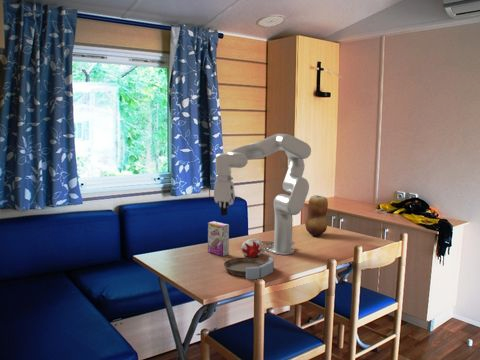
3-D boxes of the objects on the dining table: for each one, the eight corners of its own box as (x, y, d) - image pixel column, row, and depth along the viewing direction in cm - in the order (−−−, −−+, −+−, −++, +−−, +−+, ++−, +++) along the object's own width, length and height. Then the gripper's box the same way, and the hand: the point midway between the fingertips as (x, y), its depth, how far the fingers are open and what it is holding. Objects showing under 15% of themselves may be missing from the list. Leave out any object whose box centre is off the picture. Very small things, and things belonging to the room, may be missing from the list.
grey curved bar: (269, 266, 211) (269, 256, 211) (278, 268, 208) (279, 258, 208) (244, 279, 194) (244, 268, 193) (254, 281, 191) (254, 270, 190)
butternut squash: (326, 238, 263) (328, 198, 260) (303, 237, 266) (305, 197, 263) (326, 233, 276) (328, 194, 273) (305, 231, 279) (307, 193, 276)
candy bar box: (207, 252, 232) (207, 222, 230) (213, 250, 236) (213, 220, 233) (222, 256, 225) (223, 226, 223) (229, 254, 229) (229, 224, 226)
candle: (259, 250, 235) (265, 263, 220) (238, 251, 233) (243, 263, 218) (260, 235, 232) (266, 246, 218) (239, 235, 230) (244, 247, 216)
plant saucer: (214, 268, 208) (215, 261, 207) (248, 260, 221) (248, 254, 220) (241, 281, 192) (242, 274, 191) (275, 271, 205) (276, 265, 204)
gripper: (240, 178, 211) (240, 215, 214) (216, 176, 220) (216, 211, 223) (231, 180, 205) (231, 218, 208) (206, 178, 214) (207, 214, 217)
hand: (224, 215), depth 215 cm, fingers closed
